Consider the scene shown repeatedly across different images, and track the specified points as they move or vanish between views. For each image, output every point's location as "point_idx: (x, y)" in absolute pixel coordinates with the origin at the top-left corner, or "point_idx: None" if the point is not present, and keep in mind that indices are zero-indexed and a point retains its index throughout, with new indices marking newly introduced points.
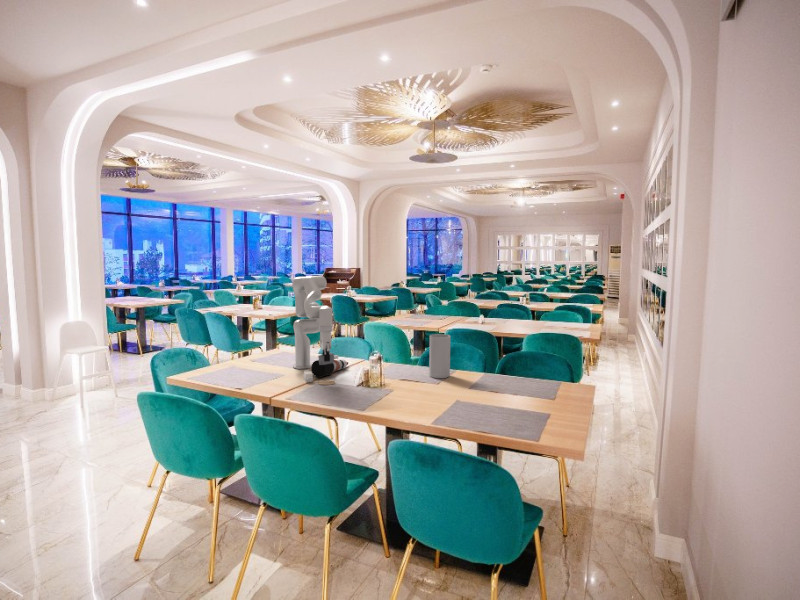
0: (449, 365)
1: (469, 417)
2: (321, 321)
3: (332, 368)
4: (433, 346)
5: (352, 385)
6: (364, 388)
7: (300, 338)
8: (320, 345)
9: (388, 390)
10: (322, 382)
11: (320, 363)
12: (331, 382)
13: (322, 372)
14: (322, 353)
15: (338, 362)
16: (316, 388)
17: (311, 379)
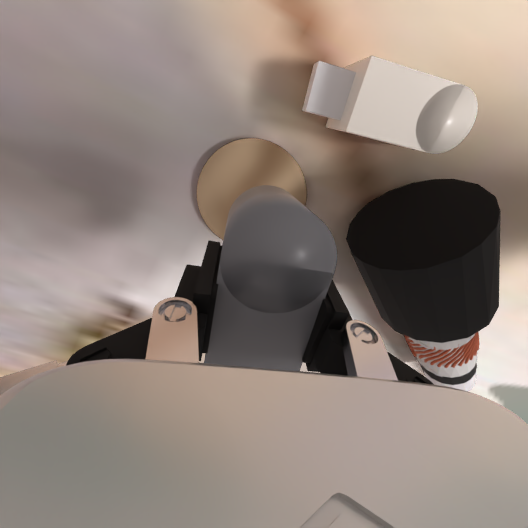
0: None
1: None
2: None
3: (376, 305)
4: None
5: (138, 288)
6: (65, 310)
7: None
8: (437, 445)
9: (10, 365)
10: (250, 171)
11: (247, 193)
12: (221, 219)
13: (360, 229)
14: (338, 307)
15: (430, 362)
16: (145, 70)
17: (304, 102)
